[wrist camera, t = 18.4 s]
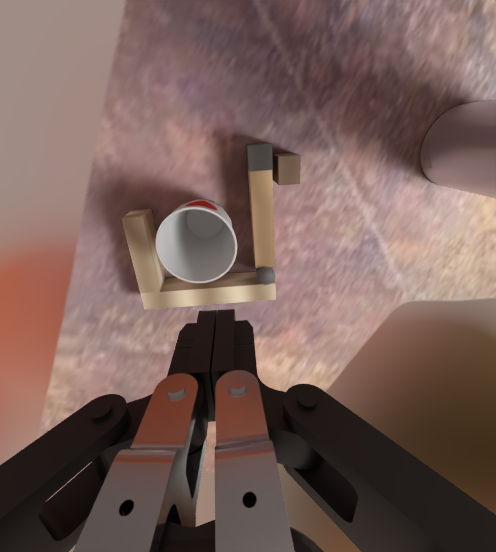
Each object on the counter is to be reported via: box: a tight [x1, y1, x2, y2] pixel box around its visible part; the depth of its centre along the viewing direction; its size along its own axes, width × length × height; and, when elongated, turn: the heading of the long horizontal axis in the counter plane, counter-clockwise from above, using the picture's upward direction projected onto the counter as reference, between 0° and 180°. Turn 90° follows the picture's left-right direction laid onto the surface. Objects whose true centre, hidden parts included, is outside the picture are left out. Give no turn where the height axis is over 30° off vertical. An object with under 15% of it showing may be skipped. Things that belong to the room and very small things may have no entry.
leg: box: [246, 143, 275, 285], centre depth 35 cm, size 3×16×5 cm, turn 4°
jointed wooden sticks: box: [121, 153, 300, 309], centre depth 37 cm, size 21×18×4 cm
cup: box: [156, 199, 237, 283], centre depth 33 cm, size 8×8×10 cm
